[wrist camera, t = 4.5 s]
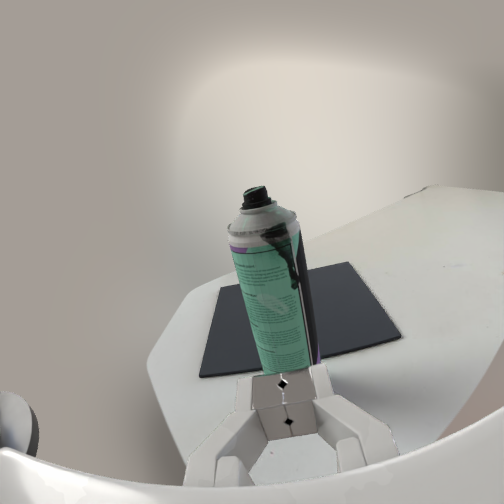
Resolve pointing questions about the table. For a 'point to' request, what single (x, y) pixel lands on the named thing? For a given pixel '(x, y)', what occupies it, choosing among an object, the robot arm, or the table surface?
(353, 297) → the mat
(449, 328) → the table surface
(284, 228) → the spray can
